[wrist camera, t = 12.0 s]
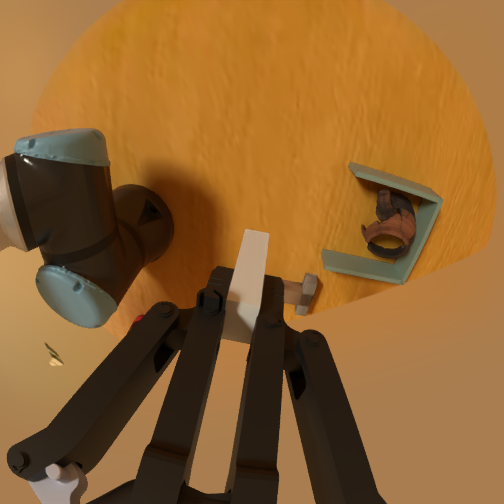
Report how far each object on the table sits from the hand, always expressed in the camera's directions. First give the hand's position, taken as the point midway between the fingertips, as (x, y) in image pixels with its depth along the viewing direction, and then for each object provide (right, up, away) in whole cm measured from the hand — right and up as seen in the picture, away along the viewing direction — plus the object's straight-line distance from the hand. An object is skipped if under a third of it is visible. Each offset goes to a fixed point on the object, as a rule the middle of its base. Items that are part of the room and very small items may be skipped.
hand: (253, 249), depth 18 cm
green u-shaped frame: (+20, +5, +26) cm, 33 cm away
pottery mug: (+22, +6, +25) cm, 34 cm away
